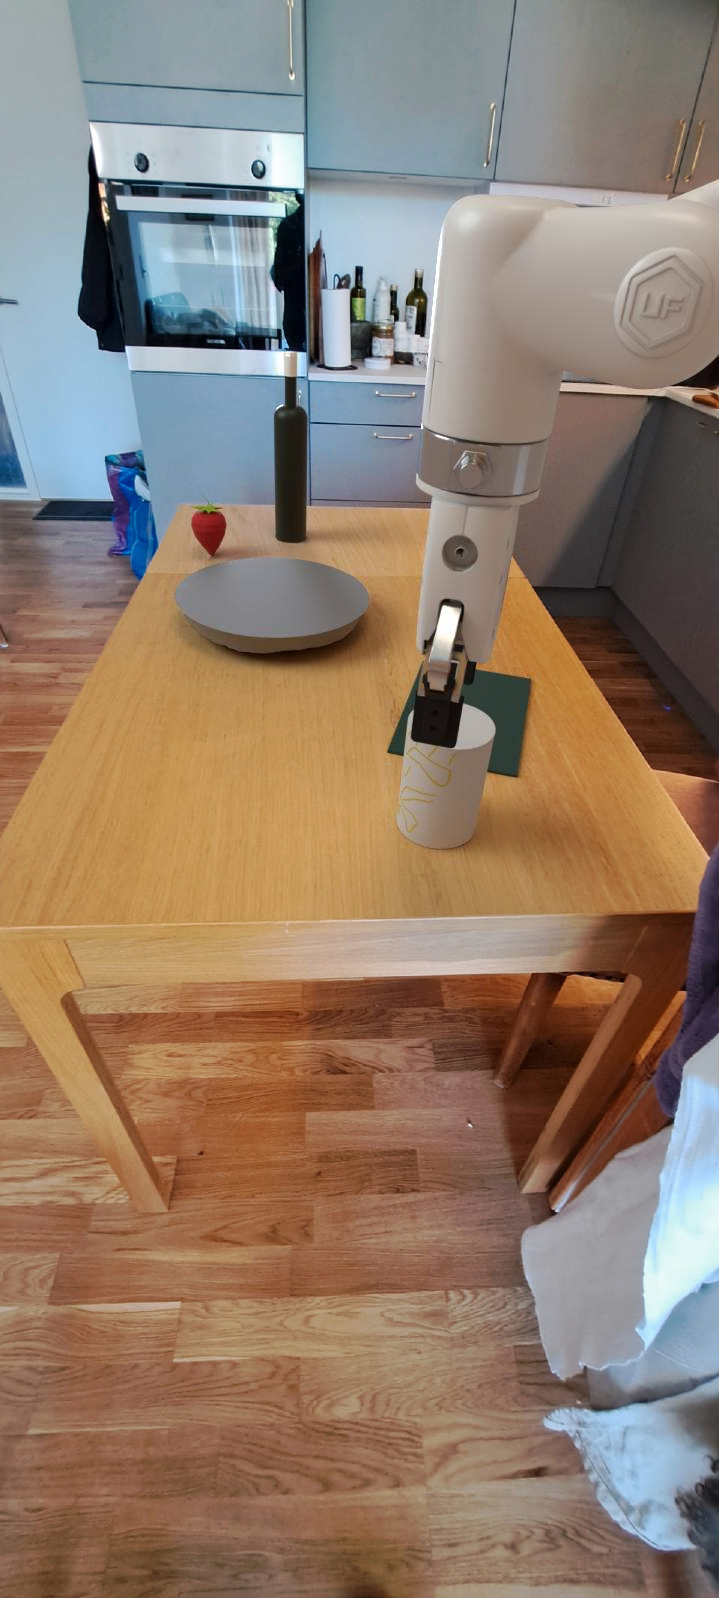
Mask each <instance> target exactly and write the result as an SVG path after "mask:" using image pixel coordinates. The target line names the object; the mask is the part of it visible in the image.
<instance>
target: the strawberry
mask: <svg viewBox="0 0 719 1598" xmlns="http://www.w3.org/2000/svg"><path fill="white" fill-rule="evenodd" d="M201 497H203V498H204V499H205V500H206V501H207V502H208V504H207V505H206V506H204V505H191V506H190V507H191V508H194V509H198V510H197V511H195V512H194V514H193V515H192V516H191V521H190V522H191V523H190V526H191V529H192V532H193V535H194V537H195V538H196V540H197V541H198V543H199V544H200V545H201V547H202V548H203V549H204V550H205V551H206V553H207V554H208V555H209V556H214V555H215V554H217V552H218V549H219V548H220V546H221V544H222V543H223V539H224V538H225V536H226V530H227V521H226V520H227V519H226V516H225V515H224V514H223V513H222V512H221V511H220V510H221V509H223V507H221V506H214V503H210V501H209V500H208V499H207V498H206V497H205V496H204V495H201Z"/></svg>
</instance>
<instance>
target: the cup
mask: <svg viewBox="0 0 719 1598" xmlns="http://www.w3.org/2000/svg"><path fill="white" fill-rule="evenodd" d="M413 712H414V710H413V711H412V712H411V713H410V715H409V717H408V723H407V732H406V741H405V749H404V756H403V760H402V767H401V777H400V785H399V792H398V793H399V794H398V802H397V810H396V818H395V819H396V825H397V828H398V830H399V831H400V832H401V834H402V835H403V836H404V837H405V838H406V839H408V840H409V841H411V842H412V843H414V844H417V845H418V846H421V847H425V848H430V849H436V850H449V849H454V848H457V847H460V846H462V845H465V844H466V843H467V842H469V841H470V840H471V839H472V838H473V836H474V834H475V831H476V827H477V822H478V817H479V813H480V808H481V803H482V797H483V794H484V793H483V792H484V788H485V784H486V779H487V778H486V777H487V775H488V772H487V769H488V765H489V760H490V755H491V750H492V745H493V740H494V735H495V725H494V723H493V721H492V720H491V718H490V717H489V716H488V715H487V714H485V713H484V712H482V711H481V710H479V709H477V708H475V707H472V706H470V705H467V704H463V708H462V714H461V720H460V726H459V732H458V738H457V743H456V746H455V747H454V748H445V747H440V746H434V745H429V744H424V743H418V742H414V741H413V740H412V739H411V729H412V720H413Z"/></svg>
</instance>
